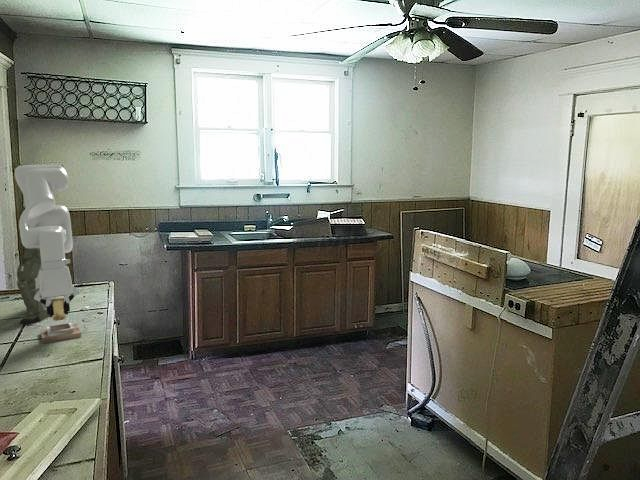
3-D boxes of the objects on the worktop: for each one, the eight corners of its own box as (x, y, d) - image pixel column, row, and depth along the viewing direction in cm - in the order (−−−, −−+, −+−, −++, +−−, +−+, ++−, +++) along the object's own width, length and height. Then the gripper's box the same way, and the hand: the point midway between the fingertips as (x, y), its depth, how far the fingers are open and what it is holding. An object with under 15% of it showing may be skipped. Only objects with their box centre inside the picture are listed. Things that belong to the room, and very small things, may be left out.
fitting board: (40, 334, 184) (39, 326, 183) (77, 327, 190) (76, 320, 190) (43, 343, 175) (42, 335, 174) (81, 336, 181) (80, 328, 181)
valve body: (51, 318, 182) (49, 299, 181) (65, 315, 184) (63, 297, 183) (52, 321, 178) (50, 301, 177) (66, 319, 180) (64, 299, 179)
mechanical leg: (25, 325, 190) (31, 245, 192) (8, 324, 192) (15, 244, 194) (51, 322, 204) (57, 247, 206) (36, 321, 205) (41, 246, 207)
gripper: (78, 259, 186) (83, 308, 189) (25, 265, 177) (31, 316, 180) (81, 263, 179) (86, 313, 182) (26, 269, 170) (32, 322, 173)
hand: (58, 314), depth 181 cm, fingers closed on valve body, 4 cm apart
